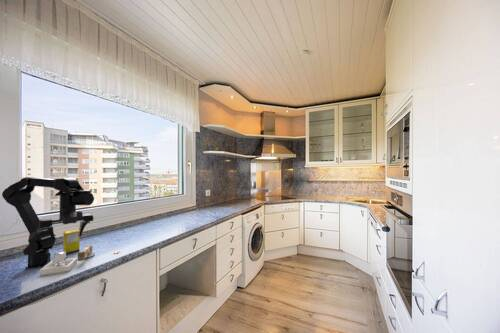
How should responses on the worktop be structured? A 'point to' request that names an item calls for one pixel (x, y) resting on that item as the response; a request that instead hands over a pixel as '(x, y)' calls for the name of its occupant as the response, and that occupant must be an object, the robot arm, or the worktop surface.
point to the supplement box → (71, 241)
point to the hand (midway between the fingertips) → (67, 239)
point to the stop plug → (60, 259)
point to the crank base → (94, 254)
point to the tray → (54, 270)
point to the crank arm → (84, 253)
